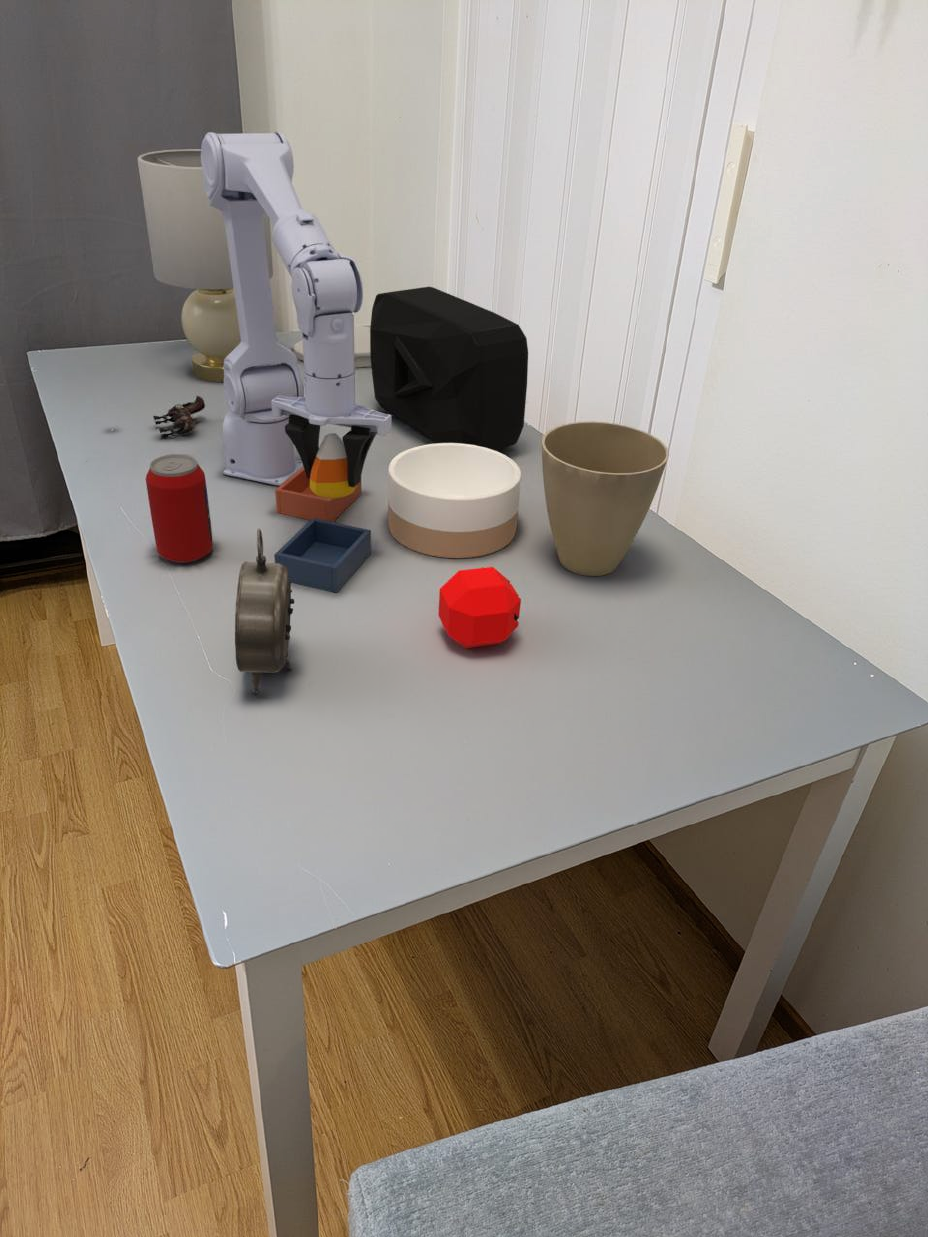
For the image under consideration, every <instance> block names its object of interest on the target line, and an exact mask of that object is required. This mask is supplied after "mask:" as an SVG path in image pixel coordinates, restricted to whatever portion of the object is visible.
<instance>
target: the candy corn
mask: <svg viewBox="0 0 928 1237" xmlns="http://www.w3.org/2000/svg"><path fill="white" fill-rule="evenodd" d="M356 486H357V485H356ZM356 486H355V487H349V486H348V478H347V457H346V451H345V447H344V443H343V440H342V438H341V437H340V436H339V435H338V434H337V433H335V432H331V433H327V434H326V435H325V436H324V438H323V439H322V442H321V444H319V450H318V453H317V455H316V458H315V461H314V464H313V467H312V469H311V475H310V489H311V490H312V492H314V493H315V494H317V495H318V496H321V497H325V498H340V497H345V496H347V495H349V494H352V493H353V492H354V490H355V488H356Z"/></svg>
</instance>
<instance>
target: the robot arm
mask: <svg viewBox="0 0 928 1237" xmlns="http://www.w3.org/2000/svg"><path fill="white" fill-rule="evenodd" d="M293 155H294V154H293V150H292V146H291V144H290V142H289V140H288V139H287V137H286V135H284V133H283V132H282V131H274V132H254V133H252V132H250V133H249V132H248V133H247V132H246V133H245V132H243V133H216V132H214V131H213V132H206V134H205V136H204V138H203V139H202V142H201V163H202V170H203V177H204V184H205V191H206V195H207V197H208V203H209V205H210V206H212V207H214V208H216V209H219V210H221V212H222V216H223V220H224V224H225V229H226V236H227V243H228V250H229V258H230V265H231V272H232V279H233V286H234V294H235V301H236V308H237V315H238V322H239V330H240V337H241V342H240V344H239V345H238V346H237V347H236V348H235V349H234V350H233V351H232V352H231V353H230V354H229V355H228V356H227V357H226V358H225V359H224V364H223V366H224V382H223V391H224V397H225V400H226V403H227V406H228V408H229V410H228V411H227V413H226V415H225V416H224V418H223V422H222V423H223V424H222V442H223V452H224V460H225V469H224V470H223V475H225V476H228V477H229V476H230V477H235V478H240V479H244V480H249V481H254V482H257V483H258V482H259V483H264V484H268V485H273V486H278V487H279V486H281V485H282V484H283V483H284V482H285V481H287V480H288V479H289V478H290V477H291V476H293V475H294V474H295V473H296V472H297V471H299V470H300V469H301V468H302V467H304V470H305V473H306V476H307V478H308V479H310V475H311V469H312V467H313V464H314V461H315V458H316V455H317V453H318V450H319V448H320V431H321V426H322V427H323V426H326V425H333V426H340V427H346V428H350V430H349V431H348V432H346V433H345V434H344V435H343V436H342V438H341V440H342V441H343V443H344V447H345V451H346V457H347V478H348V486H349V487H355V486H356V485H357V484H358V483H359V482H360V480H361V481H362V475H363V474H362V473H363V469H364V465H365V461H366V458H367V455H368V453H369V451H370V449H371V446H372V444H373V442H374V440H375V438H376V436H377V435H378V436H381V437H382V436H383V437H386V436H387V435H388V434H389V433H390V432H391V431H392V415H391V414H389V413H384V412H380V411H377V410H375V409H371V408H369V407H366V406H364V405H361V404H358V403H356V368H355V358H354V326H355V315H354V314H355V313H358V312H359V311H360V310H361V309H362V304H363V300H364V299H363V298H364V287H363V285H364V284H363V279H362V276H361V275H362V274H361V272H360V269H359V267H358V265H357V262H356V261H355V259H354V258H353V257H351V256H346V255H345V254H344V252H337V250H336V249H335V246H334V245H333V243H332V241H331V240H330V237H329V236H328V234H327V232H326V231H325V229H324V227H323V225H322V223H321V222H320V220H319V218H318V217H317V216H316V215H315V213H313V212H311V211H309V210H305V209H303V207H302V205H301V202H300V199H299V197H298V195H297V191H296V190H295V187H294V185H293V177H294V156H293ZM264 212H266V213H267V215H268V216H269V218H270V222H271V223H272V224H273V228H272V234H271V240H272V242H273V245H274V247H275V249H276V251H277V253H278V255H279V256H280V259H281V260H282V262H283V264H284V266H285V268H286V270H287V272H288V274H289V275H290V277H291V283H290V290H291V297H292V300H293V301H292V302H293V304H294V307H295V312H296V323H297V328H298V330H299V331H301V333H302V340H303V356H304V361H303V372H304V376H303V377H304V380H303V377H302V374H301V372H300V367H299V363H298V358H296V356H295V354H294V351H293V350H291V349H289V348H288V347H286V346H284V345H283V344H282V343H280V342H278V337H277V329H276V328H277V327H276V320H275V312H274V305H273V304H274V303H273V295H272V287H271V279H270V278H269V270H268V262H267V254H266V246H265V237H264V229H263V221H262V217H263V214H264ZM353 313H354V314H353ZM253 366H254V367H253ZM248 367H253V368H248ZM304 396H305V397H304ZM295 449H296V451H297V453H298V456H299V458H300V460H296V459H295Z"/></svg>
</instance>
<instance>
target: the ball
mask: <svg viewBox="0 0 928 1237" xmlns="http://www.w3.org/2000/svg"><path fill="white" fill-rule="evenodd" d="M438 595H439V596H438V618H439V620H440V622H441V624H442V626H443V628H444V631H445V632H446V634H447V636H448V637H449V638H451V639H453V640H454V641H455V642H456V643H458V644H459V645H460V646H462V648H464V649H471V648H477V647H486V646H487V647H488V646H493V645H500V644H501V643H503V642H504V641H506V640H507V639H508V638H509V637H511V635H512V634H513V632H515V630H516V629H518V627H519V621H518V619H519V618H520V615H521V614H520V613H521V603H522V599H521V597H520V596H519V594H518V592H517V590H516V589H515V587H514V586H513V584H512V583H511V581H510V580H509V579H508V578H507V577H506V576H504V575H503V573H501V572H500V571H499V570H497V568H495V567H494V566H487V567H486V566H485V567H477V568H468V569H460V570H457V571H456V573H455V574H454V575H452V576H451V577H450V579H448V580H447V581H446V582H445V583H444V584H443V585H441V587H440V588H439V594H438Z"/></svg>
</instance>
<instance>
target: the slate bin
mask: <svg viewBox="0 0 928 1237" xmlns="http://www.w3.org/2000/svg"><path fill="white" fill-rule="evenodd" d="M371 554H372V530H371V529H366V528H362V527H358V526H353V525H348V524H343V523H338V522H335V521H333V522H330V521H325V520H320V519H316V518H312V519H311V520H308V522H306V523H305V525H303V526H302V528H300V529H299V530H298V531H297V532H296V533H294V535H293V536H292V537H291V538H290V539H288V540H287V541H286V542H285V543H284V544H283V545H282V546H281V547H280V548H279V549H278V550H277V551H276V552H275V553H274V563H279V564H282V565H283V566H285V567H286V568H287V570H288V572H289V575H290V582H291V583H294V584H297V585H302V586H306V587H311V588H314V589H319V590H323V591H328V592H330V593H331V592H332V593H338V592H339V591H340V590H341V589H342V588H343V587H344V585H346V583H347V582H348V581H349V580H350V579H351V577H352V576H353V575H354V574H355V573H356V572H357V570H358V569H359V568H360V567H361V566H362V565H363V564H364V563H365V562H366V560H367V559H368V558H369V557H370V556H371Z"/></svg>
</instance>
